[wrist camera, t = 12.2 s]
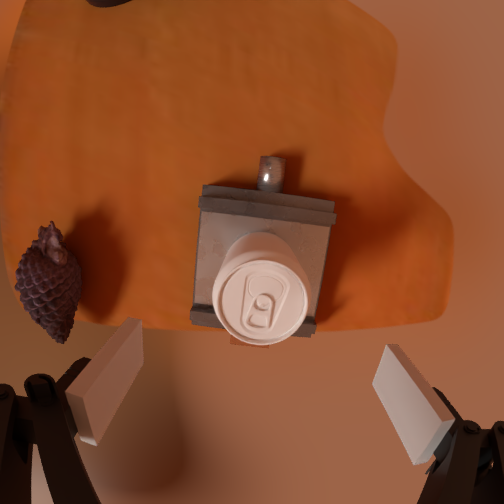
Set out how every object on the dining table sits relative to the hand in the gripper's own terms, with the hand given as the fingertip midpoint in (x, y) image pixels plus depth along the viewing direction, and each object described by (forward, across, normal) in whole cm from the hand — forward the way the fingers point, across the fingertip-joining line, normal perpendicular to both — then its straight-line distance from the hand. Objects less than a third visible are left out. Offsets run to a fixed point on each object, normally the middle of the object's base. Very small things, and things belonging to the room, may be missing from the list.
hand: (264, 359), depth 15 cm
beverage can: (+20, 0, -1) cm, 21 cm away
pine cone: (+24, -28, -7) cm, 37 cm away
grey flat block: (+23, 0, -1) cm, 23 cm away
